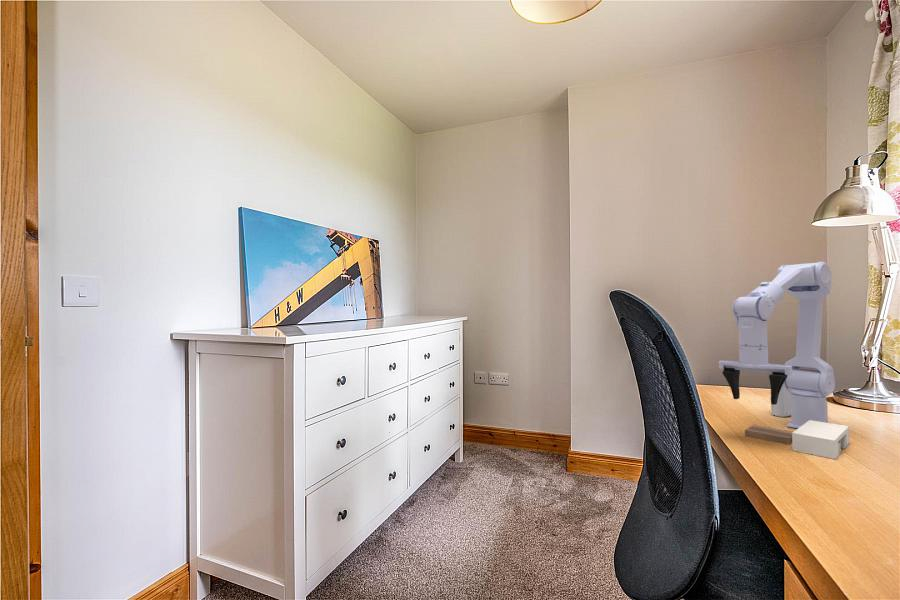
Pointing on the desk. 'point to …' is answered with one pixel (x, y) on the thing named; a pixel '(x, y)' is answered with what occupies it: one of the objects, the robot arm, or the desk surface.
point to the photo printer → (782, 404)
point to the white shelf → (820, 439)
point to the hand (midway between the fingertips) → (754, 401)
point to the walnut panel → (769, 434)
